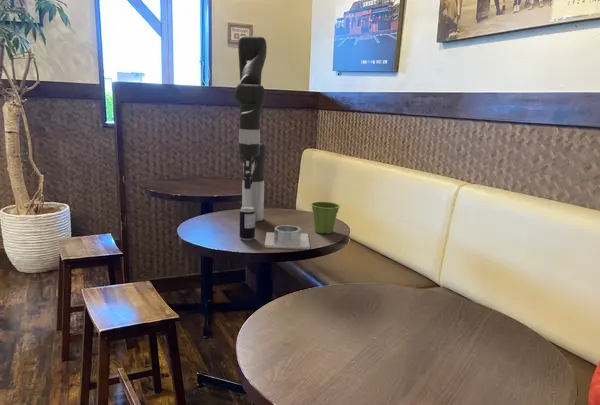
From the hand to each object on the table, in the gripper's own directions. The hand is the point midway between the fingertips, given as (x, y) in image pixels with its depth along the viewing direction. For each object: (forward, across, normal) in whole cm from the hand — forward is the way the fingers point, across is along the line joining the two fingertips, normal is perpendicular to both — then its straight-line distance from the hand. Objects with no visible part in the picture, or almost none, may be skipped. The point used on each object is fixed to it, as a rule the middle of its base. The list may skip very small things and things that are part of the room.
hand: (248, 186), depth 166 cm
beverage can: (+20, 0, 0) cm, 20 cm away
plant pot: (+20, -13, +30) cm, 38 cm away
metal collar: (+20, +2, +15) cm, 25 cm away
